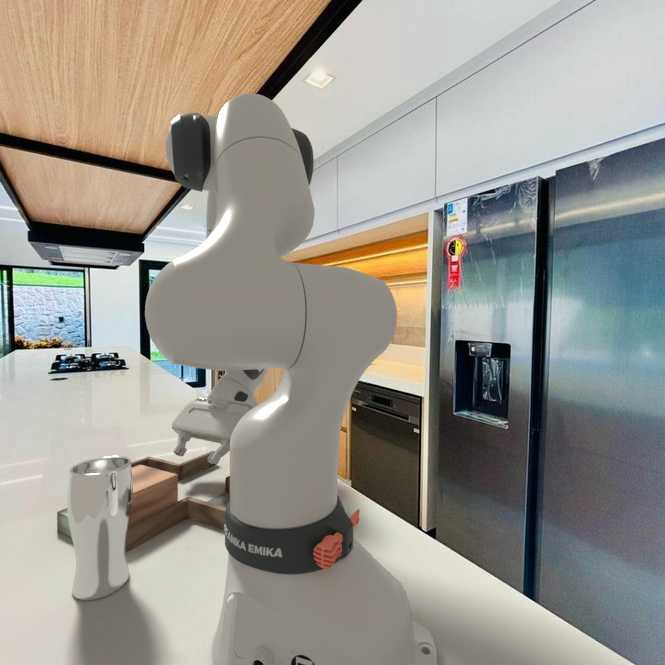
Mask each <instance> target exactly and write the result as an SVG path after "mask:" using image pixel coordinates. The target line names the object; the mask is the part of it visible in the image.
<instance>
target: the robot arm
mask: <svg viewBox="0 0 665 665" xmlns="http://www.w3.org/2000/svg"><path fill="white" fill-rule="evenodd" d="M165 155H166V156H165V157H166V160H167V163H168V166H169V168H170V170H171V172H172V173H173V175H174V179H175V180H176V181H177V183H179V185H180V186H182V187H184V188H186V189H189V190H191V191H196V192H200V193H202V192H203V191H207V199H206V215H205V216H206V219H205V220H206V223H205V224H206V235H205V236H206V237H205V239H204V241H203V242H201V243H200V244H199V245H198V246H197V247H196V248H194V249H192V250H190V251H189V252H188V253H186V254H183V255H182V256H179V257H177V258H175V259H173V260H171V261H169V262H168V263H167V264H166V265H165V266H164V267H163V268H161V270H160V271H159V272H158V273H157V275H156V276H155V278H154V280H153V281H152V283H151V285H150V287H149V289H148V291H147V295H146V300H145V306H144V309H145V310H144V318H145V323H146V328H147V329H146V330H147V331H148V335H149V337H150V339H151V341H152V343H153V344H154V346H155V348H156V350H158V352H159V353H160V354H161V355H162V356H163V358H165V359H166V360H167V361H168V362H170V363H171V364H172V365H177V366H183V367H189V368H196V369H201V370H202V369H203V370H211V371H219V372H225V373H224V374H223V375H222V376H221V377H220V378H219V379H218V380H217V382H216V384H214V386H213V388H212V389H211V390H210V393H209V394H208V395H207V398H206V397H201V396H200V397H197V398H195V399H193V400H191V401H190V402H187V404H186V405H185V406H184V407H183V409H181V411H179V413H178V414H177V416H176V417H175V418H174V419H173V421H172V422H171V429H172V430H173V431H174V432H175V433H176V434H178V436H177V443H176V444H177V445H176V446H175V448H174V449H173V451H172V452H173V453H174V454H175V455H176V456H178V457H184V456H185V454H186V453H187V451H188V449H187V448H186V447H187V446H186V445H187V442H190V440H191V438H192V439H197V440H202V441H207V442H213V443H216V444H217V443H218V444H220V446H219V447H218V448H217V449H216V450H214V451H215V452H211V451H210V452H211V453H210V456H209V457H208V458H207V461H209V462H210V463H212V464H215V465H218V464H219V463H220V460H221V458H223V457H224V456H225V455H226V454H228V453H229V476H230V501H229V502H228V504H227V506H226V514H225V524H224V529H223V530H224V531H223V532H224V546H225V550H227V552H228V557H227V569H226V579H225V586H224V587H225V588H224V595H223V601H222V606H221V611H220V616H219V620H218V623H217V624H218V625H217V627H216V631H215V633H214V634H215V635H214V637H213V642H212V648H211V650H212V652H211V655H212V656H211V657H212V658H211V659H212V664H213V665H438V664H439V662H438V654H437V649H436V644H435V640H434V638H433V636H432V633H431V632H430V629H428V627H426V626H425V625H423V624H422V623H420V622H418V621H416V620H414V619H413V617H412V612H411V607H410V605H411V604H410V602H409V601H410V600H409V598H408V595H407V592H406V589H405V587H404V586H403V585H402V583H401V581H399V580H398V578H396V576H394V575H393V574H392V573H391V572H390V571H389V570H387V568H385V567H384V566H383V565H382V564H381V563H380V562H379V561H378V560H377V559H376V558H375V557H374V556H373V555H372V554H371V553H370V552H369V551H368V550H367V549H366V548H365V547H364V546H363V545H362V544H361V543H360V542H359V541H358V540H357V539H356V538H355V537H354V529H355V528H356V526H357V525H358V524H359V522H360V519H361V518H360V516H359V515H360V513H361V510H360V509H359V508H358V509H356V510H355V511H354V513H352V514H351V515H350V517H349V515H348V514H347V512H346V510H345V507H344V505H343V502H342V501H341V498H340V496H339V495H338V477H339V476H338V475H339V474H338V473H339V457H340V456H339V454H340V453H339V452H340V438H341V430H342V423H343V420H344V416H345V412H346V410H347V407H348V404H349V402H350V399H351V397H352V395H353V393H354V391H355V388H356V386H357V385H358V383H359V380H360V379H361V377H362V376H363V375H364V373H365V372H366V371H367V370H368V368H369V367H370V366H371V364H372V363H373V362H374V361H376V359H378V358H379V356H381V355H383V353H384V352H385V351H386V350H387V349H388V347H389V346H390V344H391V342H392V341H393V339H394V338H393V337H394V336H395V332H396V329H397V325H398V324H397V323H398V310H397V309H398V308H397V305H396V304H397V303H396V300H395V297H394V295H393V293H392V291H391V289H390V287H389V285H387V283H386V282H385V281H383V280H382V279H381V278H378V277H377V276H376V277H375V276H373V275H370V274H368V273H365V272H362V271H358V270H355V269H352V268H348V267H344V266H335V265H325V264H324V265H323V264H313V263H312V264H311V263H303V262H302V263H301V262H292V261H290V260H285V259H283V258H281V257H283V256H286V255H287V254H290V253H291V252H293V251H294V250H296V248H298V247H299V246H301V244H303V243H304V242H305V241H306V239H307V238H308V237H309V235H310V233H311V231H312V229H313V226H314V221H315V213H316V212H315V206H314V201H313V198H312V197H313V196H312V193H311V190H310V185H311V182H312V178H313V174H314V169H315V157H314V150H313V145H312V142H311V141H310V139H309V137H308V135H307V134H305V133H304V132H302V131H300V130H298V129H295V128H294V127H292V126H291V124H290V122H289V120H288V119H287V117H286V115H285V113H284V112H283V111H282V109H281V108H280V106H279V105H277V103H275V102H274V101H273V100H272V99H270V98H268V97H266V96H265V95H262V94H258V93H252V92H251V93H241V94H239V95H237V96H233V97H232V98H231V99H229V100H228V101H227V102H226V103H225V104H224V105H223V107H222V108H221V110H220V111H219V114H218V115H214V114H213V115H209V114H208V115H207V114H205V115H202V114H200V113H199V112H190V113H189V112H188V113H186V112H185V113H181V114H178V115H177V116H176V117H174V118H173V119H172V120H171V121H170V127H169V129H168V131H167V134H166V139H165ZM271 369H273V370H274V369H283V374H282V377H281V381H280V382H279V385H278V387H277V388H276V390H275V391H274V392H273V393H272V394H271V395H270V396H269V397H267V399H266V400H264V401H262V402H261V403H259V402H258V401H257V399H256V398H255V397H254V396H255V392H256V390H257V389H258V388H259V387H260V386H261V384H262V382H263V381H264V379H265V378H266V375H267V373H268V371H269V370H271Z"/></svg>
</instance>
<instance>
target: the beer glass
mask: <svg viewBox="0 0 665 665" xmlns="http://www.w3.org/2000/svg"><path fill="white" fill-rule="evenodd" d="M131 462H132V460H131V458H129V457H127V456H124V455H123V456H121V455H112V456H111V455H110V456H109V455H108V456H101V457H97V458H90V459H88V460H85V461H82V462H79V463H77V464H75V465H73V466H71V468H70V469H69V477H68V478H69V479H68V485H67V486H68V487H67V489H68V490H67V507H66V508H68V520H69V527H70V532H71V536H72V537H71V539H72V544H73V548H74V553H75V565H76V566H75V573H74V574H75V575H74V579H73V583H72V588H71V593H72V596H73V597H74V598H75V599H77V600H79V601H94V600H98V599H99V600H100V599H102V598H105V597H107V596H109V595H113V593H116V592H117V591H118V590H120V589H121V588H122V587H124V585H126V583H127V582H128V581H129V577H130V569H129V565H128V560H127V552H126V539H127V533H128V528H129V523H130V517H131V511H132V503H133V481H132V470H131Z"/></svg>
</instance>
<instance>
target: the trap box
mask: <svg viewBox="0 0 665 665" xmlns="http://www.w3.org/2000/svg"><path fill="white" fill-rule="evenodd" d="M215 451H216V450H212V451H208V452H207V453H204V454H201V455H198V456H196V457H194V458H191V459H189V460H186V461H182V462H181V463H177V462H173V461H168V460H165V459H162V458H157V457H153V456H146V457H144V458H140V459H137V460H135V461H131V468H132V467H135V466H138V465H144V466H147V467H151V468H155V469H159V470H163V471H167V472H170V473H174V474H178V480H179V481H181V480H183V479H185V478H184V477H186V476H188V477H189V475H190V476H192V475H194V474H193V473H195V472H197V471H199V472H201V471H200V470H202V469H204V468H206V467H208V468H210V467H209V466H211V465H213V464H212V463H210V462H209V461H207V458H208V457H209V456H210V453H211V452H215ZM213 466H214V465H213ZM211 467H212V466H211ZM206 469H207V468H206ZM204 470H205V469H204ZM202 471H203V470H202ZM197 473H198V472H197ZM191 474H192V475H191ZM195 474H196V473H195ZM186 478H187V477H186ZM180 479H181V480H180ZM224 484H225V485H224V486H225V488H224V489H225V491H224V492H221V493H220V494H218V495H216V496H215V497H213V498H211V499H209V500H207V501H206V500H203V499H199V498H195V497H192V496H186V497H184V498H182V499H180V500H178V502H176V503H174V504H172V505H170V506H168V507H166V508H164V509H162V510H160V511H158V512H156V513H154V514H152V515H150V516H148V517H146V518H144V519H142V520H140V521H138V522H136V523H134V524H132V525H130V526H129V528H128V533H127V539H126V553H128V552H129V551H131V550H132V549H134V548H135V547H138V546H139V545H142V544H143V543H145V542H147V541H148V540H150V539H152V538H153V537H155V536H157V535H159V534H161V533H162V532H164V531H166V530H168V529H170V528H171V527H173V526H175V525H176V524H178V523H180V522H182V521H184V520H185V519H192V520H194V521H197V522H200V523H204V524H206V525H210V526H213V527H215V528H219V529H221V530H224V524H225V514H226V506H227V504H228V502H229V501H230V475H228V476H226V477H225V483H224ZM56 521H57V522H56V531H58V532H59V533H61V534H64V535H66V536H68V537H71V538H72V536H71V532H70V527H69V520H68V507H66V508H64V509H61V510H58V511H57V512H56Z"/></svg>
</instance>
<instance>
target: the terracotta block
mask: <svg viewBox="0 0 665 665" xmlns="http://www.w3.org/2000/svg"><path fill="white" fill-rule="evenodd" d="M131 470H132V481H133V503H132V511H131V517H130V523H129V526H130V525H132V524H134V523H136V522H138V521H140V520H142V519H144V518H146V517H148V516H150V515H152V514H154V513H156V512H158V511H160V510H162V509H164V508H166V507H168V506H170V505H172V504H174V503H176V502H178V501H179V497H178V496H179V491H178V489H179V481H178V474H174V473H170V472H167V471H163V470H159V469H155V468H151V467H147V466H144V465H138V466H135V467H132V468H131Z"/></svg>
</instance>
